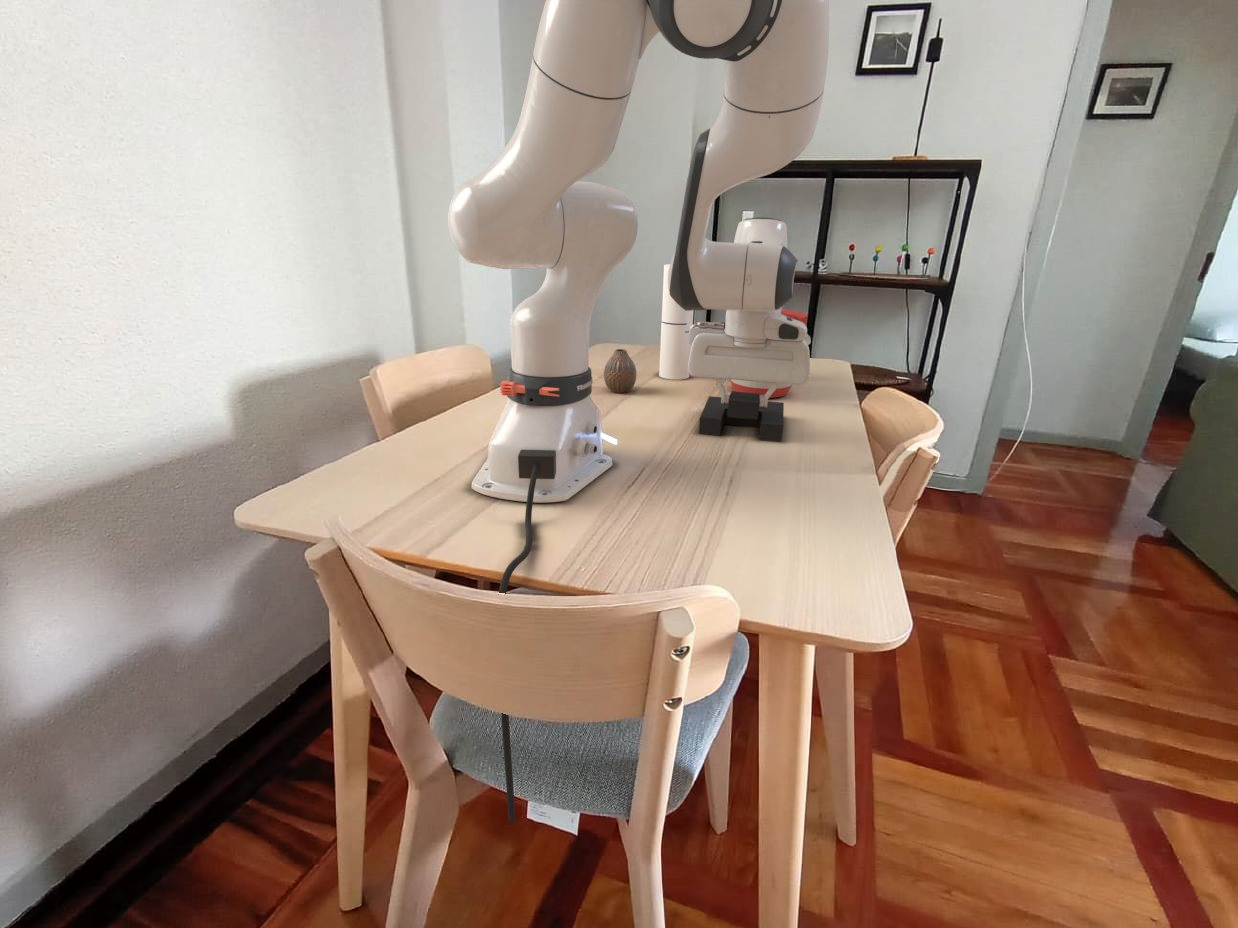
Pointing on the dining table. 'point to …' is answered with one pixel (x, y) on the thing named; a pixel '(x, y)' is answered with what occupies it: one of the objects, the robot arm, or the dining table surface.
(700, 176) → the robot arm
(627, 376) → the vase
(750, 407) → the small block
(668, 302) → the cylindrical container
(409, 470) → the dining table surface
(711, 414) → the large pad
